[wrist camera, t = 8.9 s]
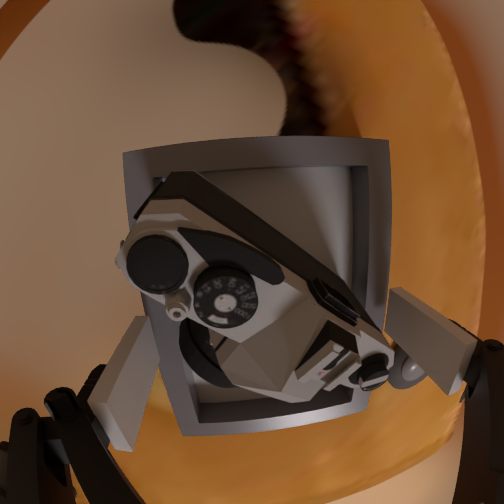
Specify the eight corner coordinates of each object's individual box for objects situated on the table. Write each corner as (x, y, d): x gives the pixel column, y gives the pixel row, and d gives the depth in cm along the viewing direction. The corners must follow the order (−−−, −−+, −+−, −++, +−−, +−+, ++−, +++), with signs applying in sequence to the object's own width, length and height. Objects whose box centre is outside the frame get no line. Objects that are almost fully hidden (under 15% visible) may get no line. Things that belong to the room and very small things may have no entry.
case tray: (186, 409, 20) (182, 435, 17) (139, 157, 15) (122, 152, 12) (352, 387, 21) (366, 409, 18) (364, 145, 16) (388, 140, 13)
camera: (106, 269, 14) (61, 408, 7) (172, 147, 12) (131, 225, 4) (279, 343, 20) (318, 452, 12) (352, 265, 18) (433, 368, 10)
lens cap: (377, 388, 22) (384, 398, 20) (388, 335, 20) (397, 344, 19) (426, 371, 22) (434, 379, 21) (440, 320, 21) (449, 327, 19)
